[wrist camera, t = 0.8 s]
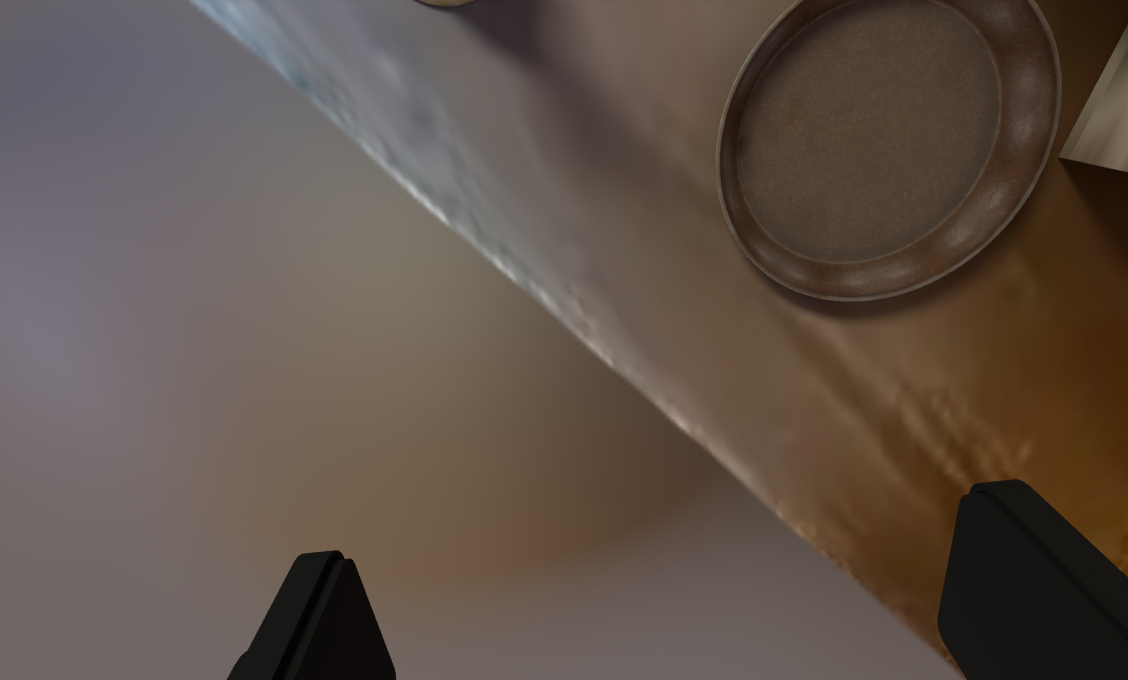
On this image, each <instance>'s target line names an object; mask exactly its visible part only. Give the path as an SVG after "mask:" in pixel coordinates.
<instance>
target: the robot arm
mask: <svg viewBox="0 0 1128 680" xmlns="http://www.w3.org/2000/svg"><path fill="white" fill-rule="evenodd" d="M938 628H939V632H940V635H941V637H942V640H943V642H944V644H945V645H946V647H947V649H948V650H949V652H950V653H951V655H952V656H953V658H954V659H955V661H956V663H957V664H958V666H959V667H960V669H961V670H962V672H963V673H964V675H965V676H966V678H967V680H1128V577H1127V576H1126V575H1125V574H1124V573H1123V572H1121V571H1120V570H1119V569H1118V568H1117V567H1116V566H1115V565H1114V564H1113V563H1112V562H1111V561H1110V560H1109V559H1107V558H1106V557H1105V556H1104V555H1103V554H1102V553H1101V552H1100V551H1099V550H1098V549H1097V548H1096V547H1095V546H1094V545H1092V544H1091V543H1090V542H1089V541H1088V540H1087V539H1086V538H1085V537H1084V536H1083V535H1082V534H1081V533H1080V532H1078V531H1077V530H1076V529H1075V528H1074V527H1073V526H1072V525H1071V524H1070V523H1069V522H1068V521H1067V520H1066V519H1065V518H1063V517H1062V516H1061V515H1060V514H1059V513H1058V512H1057V511H1056V510H1055V509H1054V508H1053V507H1052V506H1051V505H1049V504H1048V503H1047V502H1046V501H1045V500H1044V499H1043V498H1042V497H1041V496H1040V495H1039V494H1038V493H1037V492H1036V491H1034V490H1033V489H1032V488H1031V487H1030V486H1029V485H1028V484H1026V483H1025V482H1023V481H1021V480H1017V479H1014V480H1005V481H995V482H986V483H978V484H974V485H973V486H972V487H971V489H970V492H969V494H968V495H964V496H963V497H962V498H961V500H960V503H959V508H958V514H957V519H956V524H955V529H954V535H953V540H952V545H951V550H950V556H949V561H948V566H947V571H946V577H945V582H944V587H943V592H942V598H941V603H940V608H939V613H938ZM227 680H396V672H395V668H394V666H393V663H392V660H391V658H390V655H389V652H388V650H387V647H386V645H385V642H384V639H383V636H382V634H381V631H380V629H379V626H378V623H377V621H376V618H375V615H374V613H373V610H372V608H371V605H370V602H369V600H368V597H367V594H366V592H365V589H364V586H363V584H362V581H361V579H360V576H359V573H358V571H357V568H356V565H355V563H354V561H353V560H352V559H345V558H344V556H343V555H342V553H341V552H340V551H338V550H337V551H336V550H334V551H325V552H314V553H305V554H301V555H300V556H298V557H297V559H296V560H295V561H294V563H293V565H292V567H291V569H290V571H289V572H288V574H287V576H286V578H285V580H284V582H283V584H282V586H281V588H280V590H279V592H278V593H277V595H276V597H275V599H274V601H273V603H272V605H271V607H270V609H269V611H268V612H267V615H266V616H265V619H264V620H263V622H262V624H261V626H260V628H259V630H258V632H257V633H256V635H255V637H254V639H253V641H252V643H251V645H250V647H249V649H248V651H246V652H245V653H244V654H243V655H242V656H241V657H240V658H239V660H238V661H237V663H236V664H235V666H234V667H233V669H232V671H231V673H230V675H229V677H228V678H227Z"/></svg>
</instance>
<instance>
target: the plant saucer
mask: <svg viewBox="0 0 1128 680" xmlns="http://www.w3.org/2000/svg"><path fill="white" fill-rule="evenodd" d="M1061 97H1062V78H1061V69H1060V60H1059V55H1058V50H1057V46H1056V42H1055V40H1054V37H1053V34H1052V31H1051V29H1050V26H1049V24H1048V22H1047V20H1046V18H1045V17H1044V15H1043V13H1042V11H1041V9H1040V8H1039V6H1038V5H1037V3H1036V2H1035V0H796V1H795V2H794V3H793V4H792V5H790V6H789V7H788V8H787V9H786V10H785V11H784V12H783V13H782V14H781V15H780V16H779V17H778V18H777V19H776V20H775V21H774V23H773V24H772V25H771V26H770V27H769V28H768V29H767V30H766V32H765V33H764V34H763V35H762V37H761V38H760V39H759V41H758V42H757V43H756V45H755V46H754V48H753V49H752V51H751V52H750V54H749V55H748V57H747V59H746V60H745V62H744V64H743V65H742V67H741V69H740V71H739V73H738V75H737V77H736V79H735V81H734V83H733V86H732V88H731V91H730V93H729V96H728V98H727V101H726V104H725V107H724V110H723V113H722V117H721V121H720V126H719V130H718V136H717V143H716V183H717V190H718V197H719V201H720V205H721V209H722V212H723V215H724V218H725V221H726V223H727V225H728V227H729V229H730V232H731V233H732V235H733V237H734V239H735V241H736V242H737V244H738V245H739V246H740V248H741V249H742V251H743V252H744V253H745V254H746V256H747V257H748V258H749V259H750V260H751V261H752V262H753V263H754V264H755V265H756V266H757V267H758V268H759V269H760V270H761V271H763V272H764V273H765V274H766V275H768V276H769V277H770V278H772V279H773V280H775V281H776V282H778V283H780V284H781V285H783V286H785V287H787V288H789V289H791V290H794V291H796V292H799V293H801V294H804V295H808V296H811V297H815V298H819V299H824V300H831V301H847V302H852V301H860V302H861V301H870V300H877V299H883V298H888V297H892V296H897V295H900V294H904V293H907V292H910V291H913V290H915V289H918V288H920V287H923V286H925V285H928V284H930V283H932V282H934V281H936V280H938V279H940V278H942V277H943V276H945V275H947V274H949V273H950V272H952V271H954V270H955V269H957V268H958V267H960V266H961V265H963V264H964V263H966V262H967V261H968V260H970V259H971V258H972V257H974V256H975V255H976V254H978V253H979V252H980V251H981V250H982V249H983V248H985V247H986V246H987V245H988V244H989V243H990V242H991V241H992V240H993V239H994V238H995V237H996V236H997V235H998V234H999V233H1000V232H1001V231H1002V230H1003V229H1004V228H1005V227H1006V226H1007V224H1008V223H1009V222H1010V221H1011V220H1012V219H1013V218H1014V216H1015V215H1016V213H1017V212H1018V211H1019V210H1020V208H1021V207H1022V205H1023V204H1024V203H1025V201H1026V199H1027V198H1028V197H1029V195H1030V194H1031V192H1032V190H1033V188H1034V187H1035V185H1036V183H1037V181H1038V179H1039V176H1040V174H1041V173H1042V171H1043V169H1044V166H1045V164H1046V162H1047V159H1048V157H1049V155H1050V151H1051V147H1052V144H1053V142H1054V138H1055V135H1056V132H1057V128H1058V122H1059V116H1060V110H1061Z"/></svg>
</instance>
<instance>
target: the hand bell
mask: <svg viewBox="0 0 1128 680" xmlns="http://www.w3.org/2000/svg"><path fill="white" fill-rule="evenodd" d="M418 1H421V2H424V3H427V4H432V5H436V6H443V7H447V6H459V5H463V4H467V3H470V2H473V1H475V0H418Z"/></svg>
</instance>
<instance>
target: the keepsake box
mask: <svg viewBox="0 0 1128 680" xmlns="http://www.w3.org/2000/svg"><path fill="white" fill-rule="evenodd" d="M1058 157H1060V158H1065V159H1070V160H1074V161H1079V162H1083V163H1088V164H1093V165H1097V166H1102V167H1106V168H1111V169H1116V170H1120V171H1125V172H1128V25H1127V27H1126V29H1125V30H1124V32H1123V34H1122V36H1121V38H1120V40H1119V42H1118V44H1117V46H1116V47H1115V49H1114V51H1113V53H1112V55H1111V57H1110V59H1109V61H1108V63H1107V65H1106V66H1105V68H1104V70H1103V72H1102V74H1101V76H1100V78H1099V80H1098V82H1097V83H1096V85H1095V87H1094V89H1093V91H1092V93H1091V95H1090V97H1089V99H1088V100H1087V102H1086V104H1085V106H1084V108H1083V110H1082V112H1081V114H1080V116H1079V118H1078V119H1077V121H1076V123H1075V125H1074V127H1073V129H1072V131H1071V133H1070V135H1069V136H1068V138H1067V140H1066V142H1065V144H1064V146H1063V148H1062V150H1061V152H1060V154H1059V155H1058Z"/></svg>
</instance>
